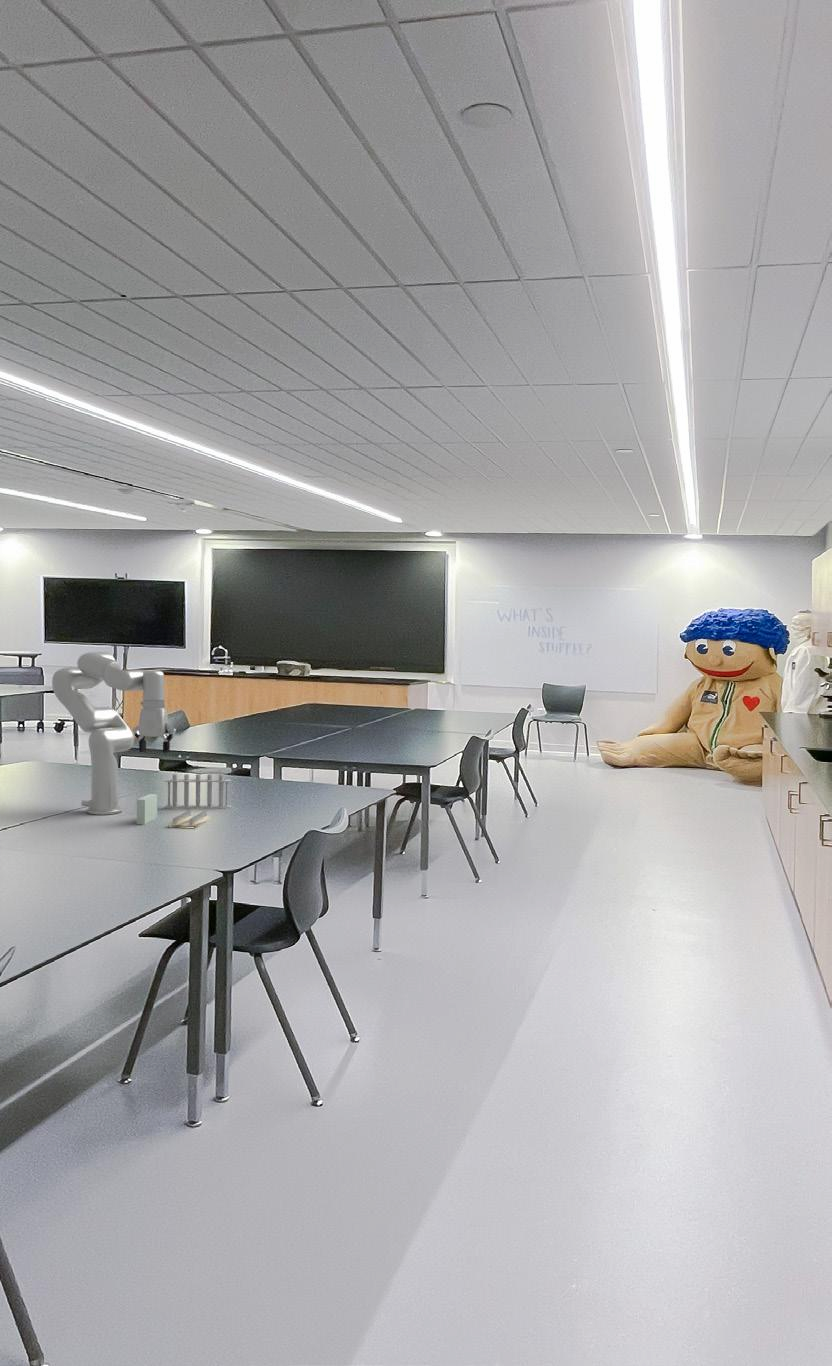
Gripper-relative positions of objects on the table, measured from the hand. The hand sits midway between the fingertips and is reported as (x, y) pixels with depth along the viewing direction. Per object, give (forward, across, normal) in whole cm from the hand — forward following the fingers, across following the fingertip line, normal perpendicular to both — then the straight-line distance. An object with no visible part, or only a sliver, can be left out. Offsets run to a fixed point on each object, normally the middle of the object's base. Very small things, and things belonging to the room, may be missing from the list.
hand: (154, 752), depth 359 cm
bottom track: (+25, +14, 0) cm, 29 cm away
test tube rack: (+25, +1, +28) cm, 37 cm away
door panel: (+25, -1, -4) cm, 25 cm away
